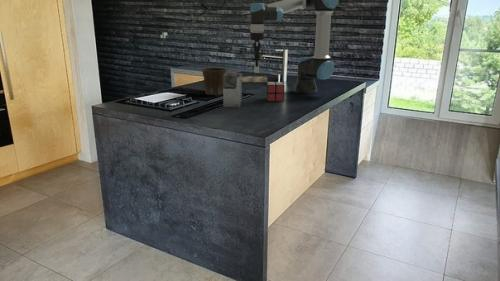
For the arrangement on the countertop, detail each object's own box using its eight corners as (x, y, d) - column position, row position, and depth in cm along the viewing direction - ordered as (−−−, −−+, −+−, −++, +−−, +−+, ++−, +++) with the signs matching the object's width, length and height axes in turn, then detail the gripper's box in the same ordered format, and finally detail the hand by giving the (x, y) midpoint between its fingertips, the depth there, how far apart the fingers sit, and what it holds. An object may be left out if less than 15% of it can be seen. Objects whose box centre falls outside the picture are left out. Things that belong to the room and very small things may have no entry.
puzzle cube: (283, 101, 235) (284, 84, 232) (267, 101, 235) (267, 84, 232) (282, 98, 245) (283, 82, 242) (266, 98, 245) (266, 82, 242)
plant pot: (216, 90, 267) (216, 66, 262) (232, 94, 256) (232, 69, 251) (197, 93, 256) (196, 69, 251) (213, 97, 245) (212, 71, 240)
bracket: (241, 99, 239) (241, 73, 234) (240, 106, 221) (240, 78, 216) (226, 99, 239) (225, 73, 234) (223, 106, 221) (222, 78, 216)
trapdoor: (266, 81, 234) (266, 72, 232) (267, 86, 219) (267, 76, 217) (225, 81, 234) (225, 72, 232) (223, 86, 219) (223, 76, 217)
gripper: (250, 31, 229) (250, 68, 236) (249, 33, 206) (249, 73, 212) (263, 31, 229) (262, 68, 236) (264, 33, 206) (263, 74, 212)
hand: (256, 71), depth 224 cm, fingers open, 13 cm apart
